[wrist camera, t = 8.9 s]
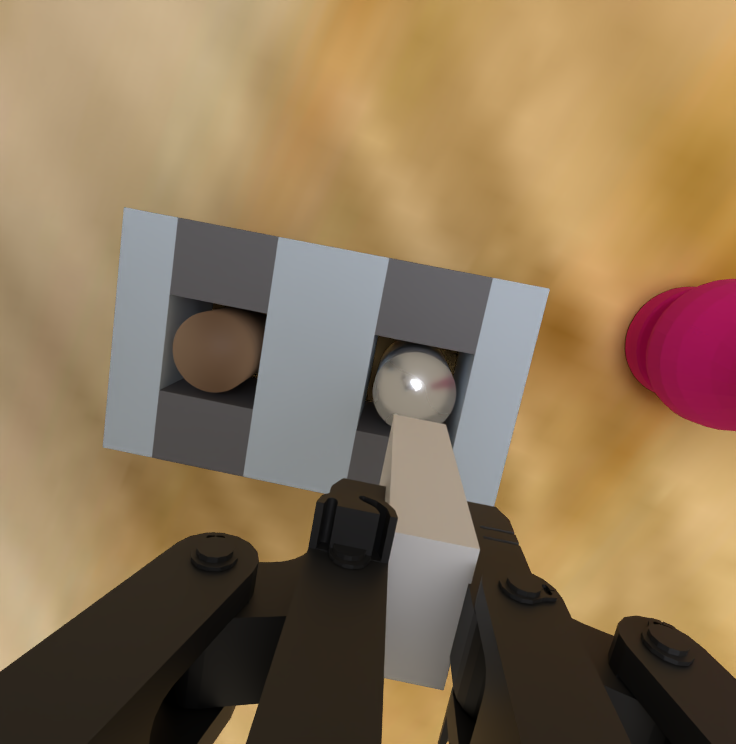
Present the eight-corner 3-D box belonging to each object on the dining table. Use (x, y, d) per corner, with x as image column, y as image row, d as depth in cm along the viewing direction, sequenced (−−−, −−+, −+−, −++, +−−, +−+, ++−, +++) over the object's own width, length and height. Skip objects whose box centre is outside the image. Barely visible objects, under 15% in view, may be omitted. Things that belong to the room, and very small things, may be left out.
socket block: (157, 415, 33) (102, 447, 27) (179, 219, 30) (123, 207, 24) (473, 480, 32) (488, 527, 26) (521, 285, 29) (549, 288, 24)
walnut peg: (211, 363, 32) (168, 383, 26) (219, 297, 31) (177, 304, 25) (275, 376, 31) (246, 399, 26) (285, 311, 31) (258, 320, 25)
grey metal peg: (373, 396, 31) (365, 424, 26) (386, 330, 30) (381, 344, 25) (439, 409, 31) (446, 440, 25) (453, 344, 30) (464, 361, 25)
